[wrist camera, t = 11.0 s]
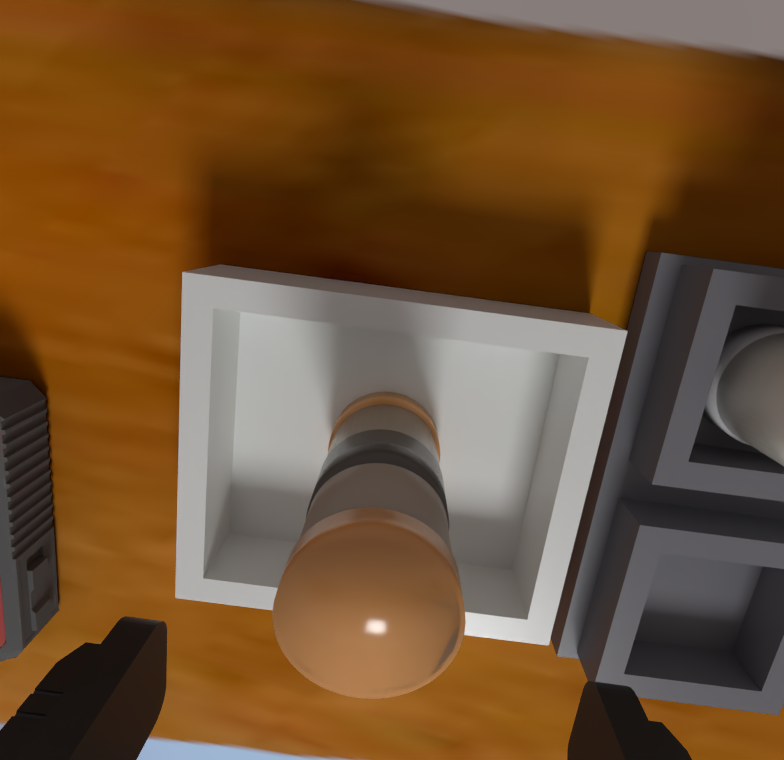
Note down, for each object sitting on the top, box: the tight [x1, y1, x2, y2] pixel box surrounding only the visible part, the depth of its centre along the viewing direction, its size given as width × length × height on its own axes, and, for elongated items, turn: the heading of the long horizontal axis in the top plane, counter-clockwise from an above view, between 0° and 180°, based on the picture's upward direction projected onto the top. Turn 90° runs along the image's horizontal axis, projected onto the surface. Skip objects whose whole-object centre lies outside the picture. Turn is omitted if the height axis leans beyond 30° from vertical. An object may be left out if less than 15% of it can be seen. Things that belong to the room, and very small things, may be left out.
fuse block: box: [551, 251, 784, 715], centre depth 21 cm, size 17×9×3 cm, turn 173°
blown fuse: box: [273, 392, 466, 699], centre depth 17 cm, size 4×4×10 cm
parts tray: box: [175, 264, 628, 645], centre depth 20 cm, size 14×12×4 cm
